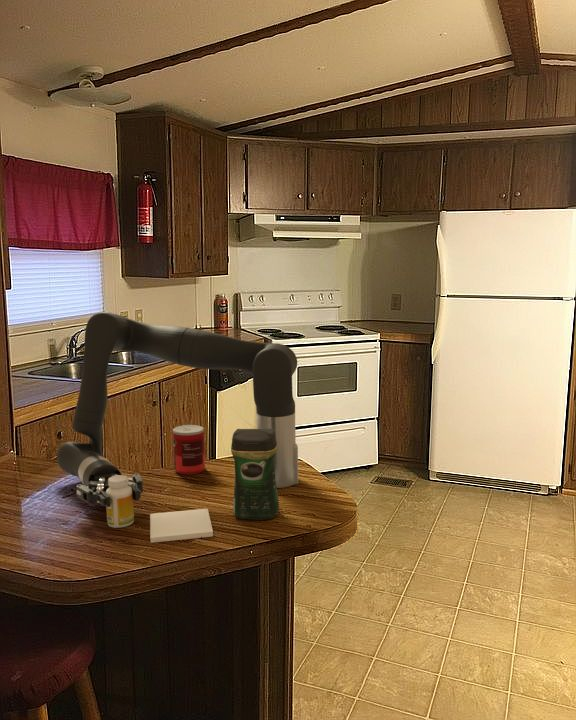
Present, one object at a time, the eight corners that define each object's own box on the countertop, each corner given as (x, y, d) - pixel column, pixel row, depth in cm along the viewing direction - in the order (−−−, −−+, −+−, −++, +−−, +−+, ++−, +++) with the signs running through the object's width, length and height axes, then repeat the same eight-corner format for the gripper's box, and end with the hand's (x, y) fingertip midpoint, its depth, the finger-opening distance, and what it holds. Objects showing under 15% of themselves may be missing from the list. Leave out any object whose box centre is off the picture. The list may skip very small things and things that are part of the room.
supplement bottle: (137, 518, 139) (135, 473, 137) (129, 528, 133) (126, 483, 132) (112, 517, 139) (110, 473, 138) (103, 528, 134) (100, 482, 132)
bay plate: (207, 512, 141) (207, 508, 141) (213, 536, 129) (212, 531, 129) (150, 518, 139) (150, 513, 138) (150, 542, 127) (150, 537, 127)
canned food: (187, 463, 174) (185, 423, 172) (211, 468, 170) (210, 427, 168) (168, 472, 167) (166, 430, 166) (192, 477, 163) (190, 434, 161)
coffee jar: (280, 507, 143) (279, 424, 140) (276, 522, 136) (275, 434, 133) (236, 506, 144) (234, 424, 141) (230, 521, 137) (227, 434, 134)
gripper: (65, 465, 143) (86, 488, 129) (129, 454, 150) (156, 474, 136) (67, 498, 144) (88, 524, 130) (131, 485, 152) (158, 509, 138)
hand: (123, 499), depth 133 cm, fingers closed on supplement bottle, 5 cm apart
